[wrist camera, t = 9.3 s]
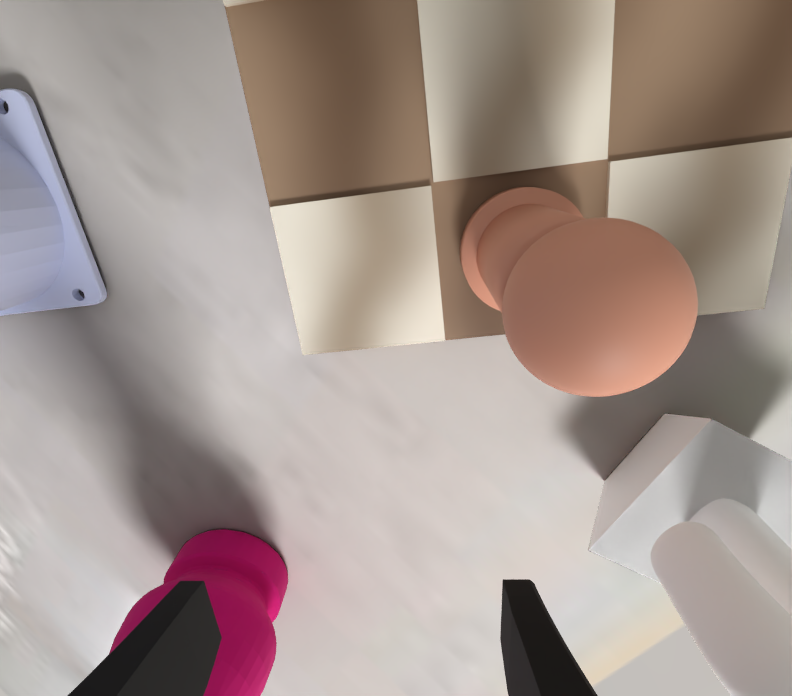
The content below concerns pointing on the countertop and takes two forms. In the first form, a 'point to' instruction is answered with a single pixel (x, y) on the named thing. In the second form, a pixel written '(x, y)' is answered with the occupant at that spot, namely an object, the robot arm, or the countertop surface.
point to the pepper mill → (229, 605)
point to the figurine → (710, 543)
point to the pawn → (580, 291)
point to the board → (508, 143)
